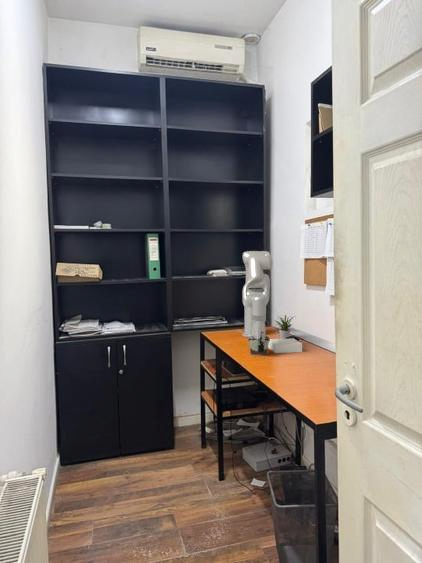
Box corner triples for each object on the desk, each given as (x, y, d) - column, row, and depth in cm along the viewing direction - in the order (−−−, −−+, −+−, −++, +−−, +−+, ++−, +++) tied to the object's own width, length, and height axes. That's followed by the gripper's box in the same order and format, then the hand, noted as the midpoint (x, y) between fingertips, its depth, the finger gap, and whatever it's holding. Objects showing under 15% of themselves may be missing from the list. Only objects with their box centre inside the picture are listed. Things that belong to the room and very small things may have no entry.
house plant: (290, 335, 259) (290, 311, 257) (301, 340, 246) (301, 315, 244) (271, 337, 254) (271, 313, 253) (281, 342, 241) (281, 316, 240)
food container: (269, 352, 218) (269, 335, 217) (270, 355, 212) (270, 337, 211) (247, 351, 219) (247, 334, 218) (247, 355, 213) (247, 337, 212)
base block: (268, 347, 230) (268, 339, 230) (293, 346, 232) (293, 338, 232) (275, 353, 216) (275, 345, 216) (302, 352, 219) (302, 344, 218)
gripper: (248, 316, 220) (247, 346, 222) (257, 321, 204) (257, 354, 205) (260, 315, 222) (260, 346, 223) (271, 320, 205) (270, 353, 207)
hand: (259, 349), depth 214 cm, fingers closed on food container, 5 cm apart
